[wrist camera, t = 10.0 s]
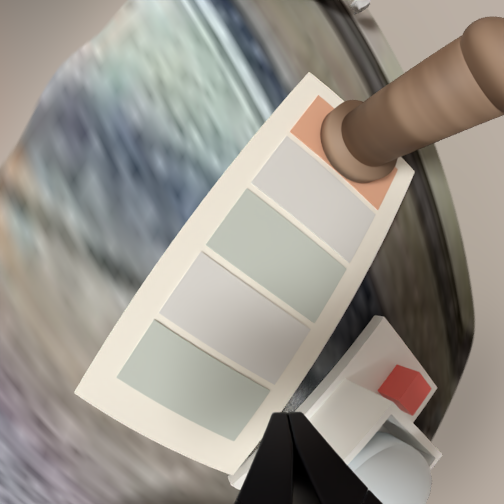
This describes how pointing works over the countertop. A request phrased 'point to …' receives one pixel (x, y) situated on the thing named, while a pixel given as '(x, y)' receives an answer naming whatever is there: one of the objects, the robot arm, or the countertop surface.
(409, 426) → the base
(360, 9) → the soldier figure
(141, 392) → the game track
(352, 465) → the dome
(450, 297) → the countertop surface
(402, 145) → the pawn
